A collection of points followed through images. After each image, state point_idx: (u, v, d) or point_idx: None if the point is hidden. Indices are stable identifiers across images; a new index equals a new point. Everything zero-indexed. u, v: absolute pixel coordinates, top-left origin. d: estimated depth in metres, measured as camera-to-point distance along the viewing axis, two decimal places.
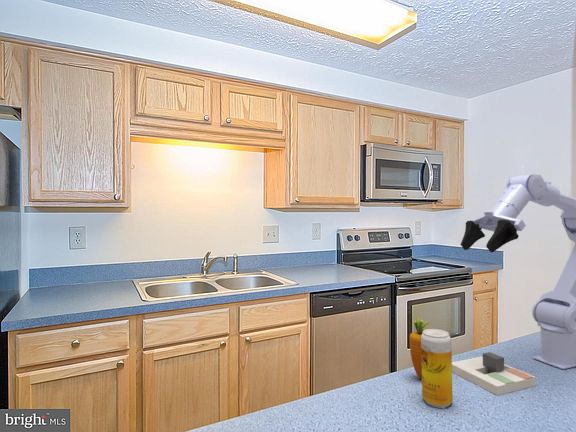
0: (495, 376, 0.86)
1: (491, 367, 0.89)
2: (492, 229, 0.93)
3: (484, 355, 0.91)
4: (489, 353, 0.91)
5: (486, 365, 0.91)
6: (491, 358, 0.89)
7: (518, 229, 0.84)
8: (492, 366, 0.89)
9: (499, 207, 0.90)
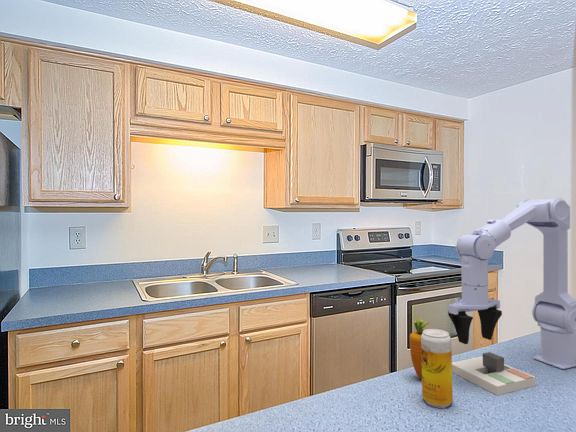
0: (495, 376, 0.86)
1: (491, 367, 0.89)
2: None
3: (484, 355, 0.91)
4: (489, 353, 0.91)
5: (486, 365, 0.91)
6: (491, 358, 0.89)
7: None
8: (492, 366, 0.89)
9: None
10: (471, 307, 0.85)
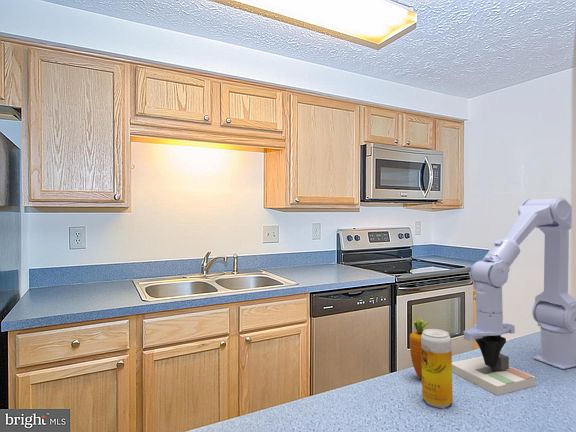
0: (495, 376, 0.86)
1: (496, 366, 0.90)
2: None
3: None
4: None
5: None
6: None
7: None
8: (497, 365, 0.89)
9: None
10: (486, 334, 0.87)
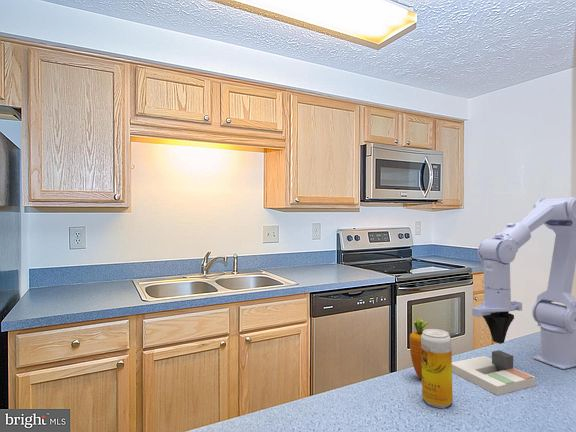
0: (495, 376, 0.86)
1: (500, 365, 0.90)
2: None
3: (493, 353, 0.92)
4: (498, 351, 0.93)
5: (495, 363, 0.92)
6: (500, 357, 0.90)
7: None
8: (501, 364, 0.90)
9: None
10: (494, 310, 0.88)
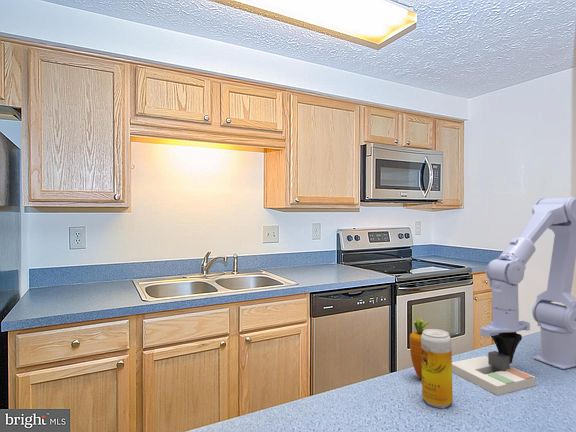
0: (495, 376, 0.86)
1: (497, 366, 0.90)
2: None
3: (490, 354, 0.92)
4: (495, 352, 0.92)
5: (492, 364, 0.91)
6: (497, 357, 0.90)
7: None
8: (498, 365, 0.90)
9: None
10: (502, 330, 0.89)
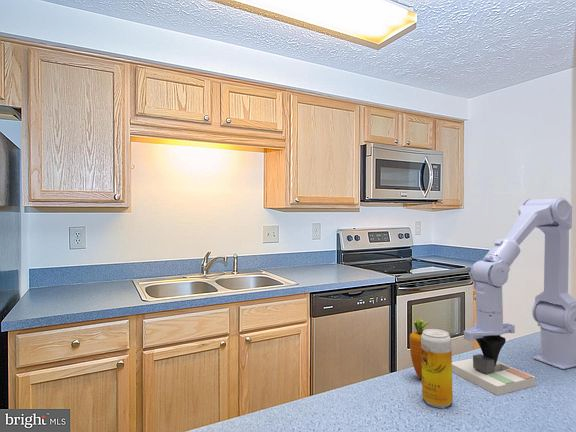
0: (495, 376, 0.86)
1: (481, 369, 0.88)
2: None
3: (474, 357, 0.90)
4: (479, 355, 0.90)
5: (476, 367, 0.89)
6: (481, 361, 0.88)
7: None
8: (482, 368, 0.88)
9: None
10: (486, 334, 0.87)
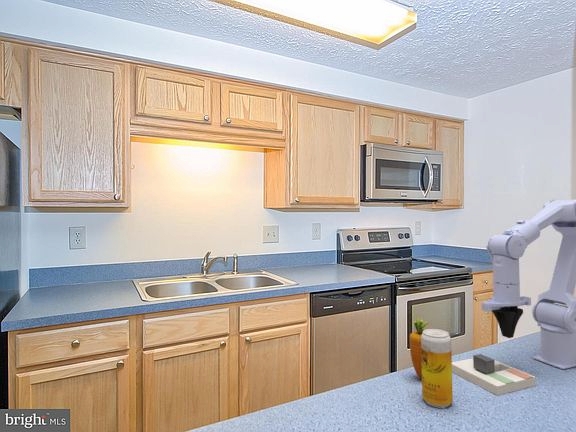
0: (495, 376, 0.86)
1: (481, 369, 0.88)
2: None
3: (475, 357, 0.90)
4: (480, 355, 0.90)
5: (477, 367, 0.90)
6: (482, 361, 0.88)
7: None
8: (482, 368, 0.88)
9: None
10: (504, 304, 0.89)
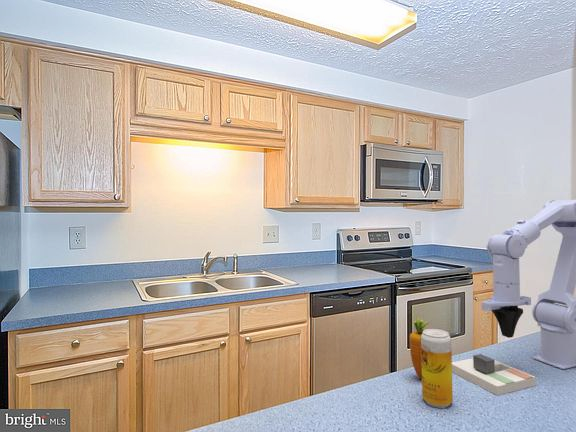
0: (495, 376, 0.86)
1: (481, 369, 0.88)
2: None
3: (475, 357, 0.90)
4: (480, 355, 0.90)
5: (477, 367, 0.90)
6: (482, 361, 0.88)
7: None
8: (482, 368, 0.88)
9: None
10: (504, 304, 0.89)
